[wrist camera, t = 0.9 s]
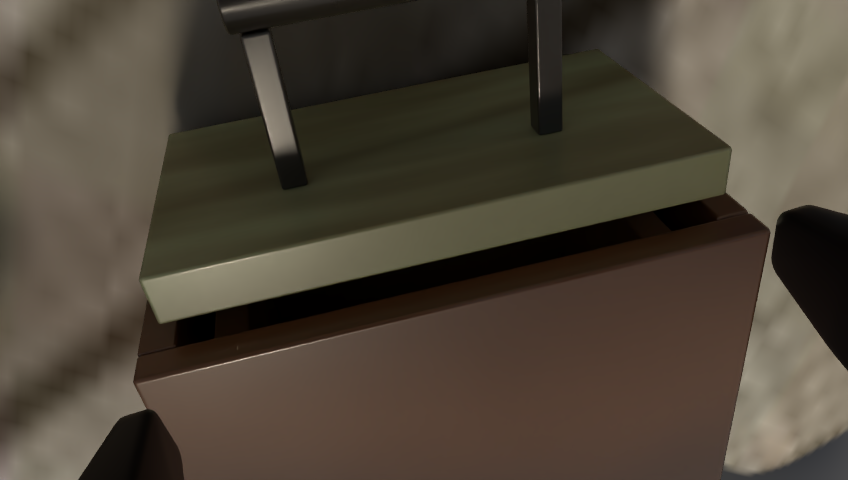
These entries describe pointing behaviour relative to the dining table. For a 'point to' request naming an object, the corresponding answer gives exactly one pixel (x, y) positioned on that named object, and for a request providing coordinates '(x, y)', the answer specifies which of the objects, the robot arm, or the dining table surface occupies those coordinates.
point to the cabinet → (484, 370)
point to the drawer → (411, 178)
